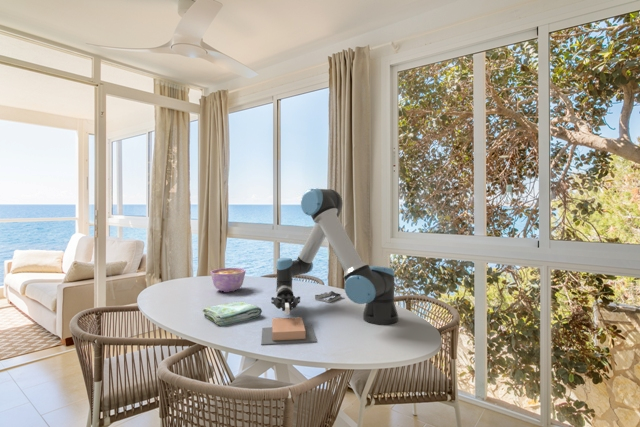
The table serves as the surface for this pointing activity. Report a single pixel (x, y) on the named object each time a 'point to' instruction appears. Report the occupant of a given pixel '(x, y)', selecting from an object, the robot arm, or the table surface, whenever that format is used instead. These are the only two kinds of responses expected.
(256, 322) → the table surface
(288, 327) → the terracotta slab
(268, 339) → the charcoal mat
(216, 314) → the towel
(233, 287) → the bowl of food
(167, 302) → the table surface
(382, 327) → the table surface
